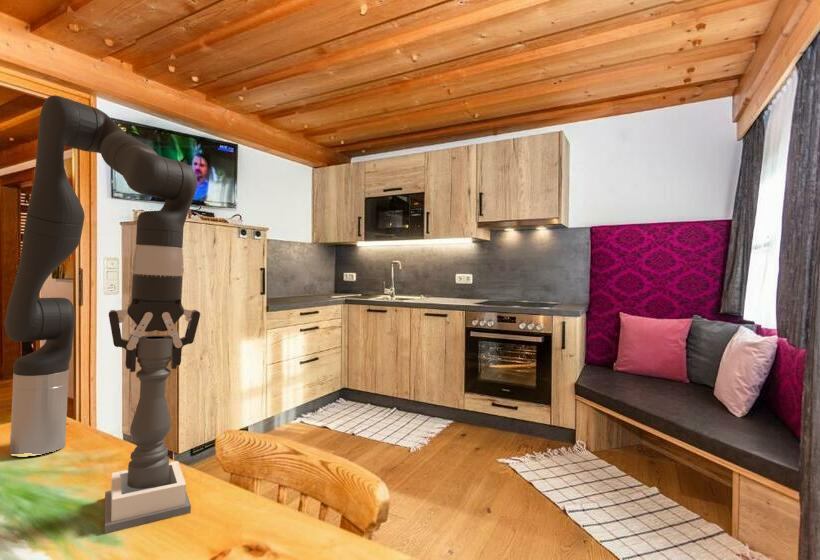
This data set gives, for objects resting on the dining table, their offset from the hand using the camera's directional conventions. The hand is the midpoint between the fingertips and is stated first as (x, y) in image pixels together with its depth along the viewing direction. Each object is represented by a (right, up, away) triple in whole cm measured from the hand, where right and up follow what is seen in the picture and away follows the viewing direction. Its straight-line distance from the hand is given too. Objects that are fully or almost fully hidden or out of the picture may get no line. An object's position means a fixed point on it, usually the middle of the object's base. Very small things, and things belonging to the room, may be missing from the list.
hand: (153, 369), depth 75 cm
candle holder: (-1, -20, 0) cm, 20 cm away
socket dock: (-1, -24, 0) cm, 24 cm away
